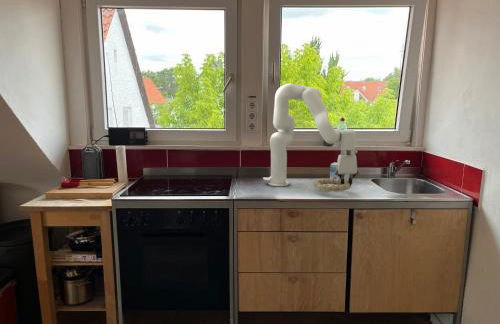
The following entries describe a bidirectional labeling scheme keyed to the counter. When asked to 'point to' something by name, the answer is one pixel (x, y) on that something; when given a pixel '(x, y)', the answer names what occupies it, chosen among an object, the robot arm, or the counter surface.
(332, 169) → the light bulb box
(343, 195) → the counter surface
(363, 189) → the counter surface
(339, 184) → the woven wreath ring
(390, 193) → the counter surface
